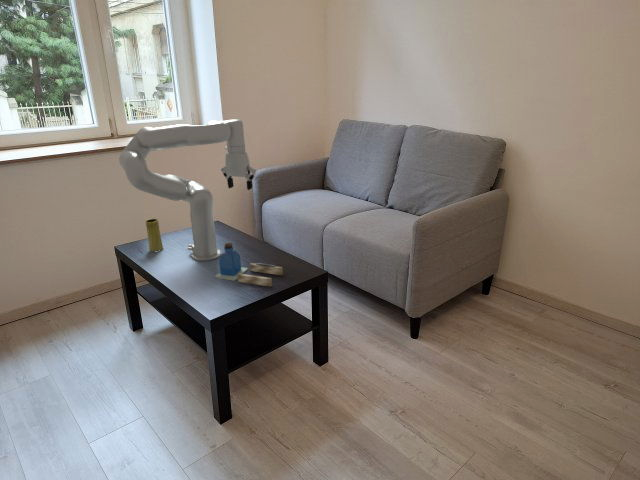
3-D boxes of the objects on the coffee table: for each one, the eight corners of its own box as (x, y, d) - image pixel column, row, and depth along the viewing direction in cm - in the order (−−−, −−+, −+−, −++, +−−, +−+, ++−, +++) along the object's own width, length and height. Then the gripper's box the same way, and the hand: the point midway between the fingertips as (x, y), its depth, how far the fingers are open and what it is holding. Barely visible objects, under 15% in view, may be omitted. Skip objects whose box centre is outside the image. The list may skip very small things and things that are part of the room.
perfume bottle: (234, 276, 175) (232, 248, 171) (220, 274, 177) (217, 246, 172) (241, 269, 181) (238, 242, 176) (227, 268, 182) (224, 241, 178)
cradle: (237, 281, 172) (237, 273, 171) (251, 269, 182) (250, 261, 181) (270, 286, 168) (270, 278, 166) (282, 274, 178) (282, 265, 176)
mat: (214, 277, 175) (214, 276, 175) (228, 266, 185) (228, 265, 185) (234, 280, 173) (234, 279, 172) (247, 269, 182) (247, 268, 182)
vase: (166, 248, 204) (161, 219, 199) (155, 253, 199) (150, 223, 194) (157, 246, 207) (152, 217, 202) (146, 250, 203) (141, 221, 197)
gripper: (214, 150, 189) (219, 189, 195) (249, 152, 182) (253, 192, 189) (224, 147, 195) (228, 184, 201) (258, 148, 189) (261, 187, 195)
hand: (240, 188), depth 195 cm, fingers open, 9 cm apart
